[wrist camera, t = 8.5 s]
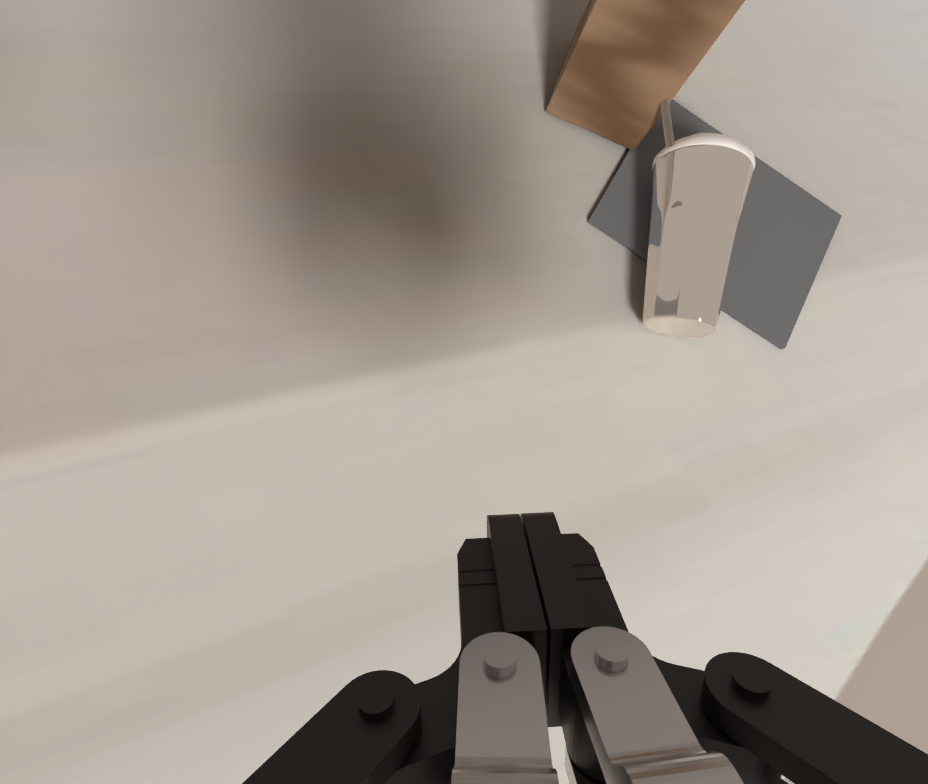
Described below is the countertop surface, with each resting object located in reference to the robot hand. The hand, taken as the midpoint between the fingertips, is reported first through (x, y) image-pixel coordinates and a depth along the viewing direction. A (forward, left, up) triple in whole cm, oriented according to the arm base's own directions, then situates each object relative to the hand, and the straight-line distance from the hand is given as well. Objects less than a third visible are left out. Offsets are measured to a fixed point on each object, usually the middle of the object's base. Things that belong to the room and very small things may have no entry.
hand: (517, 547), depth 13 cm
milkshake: (+5, +13, -10) cm, 17 cm away
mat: (+5, +21, -12) cm, 25 cm away
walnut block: (-4, +23, -12) cm, 26 cm away
